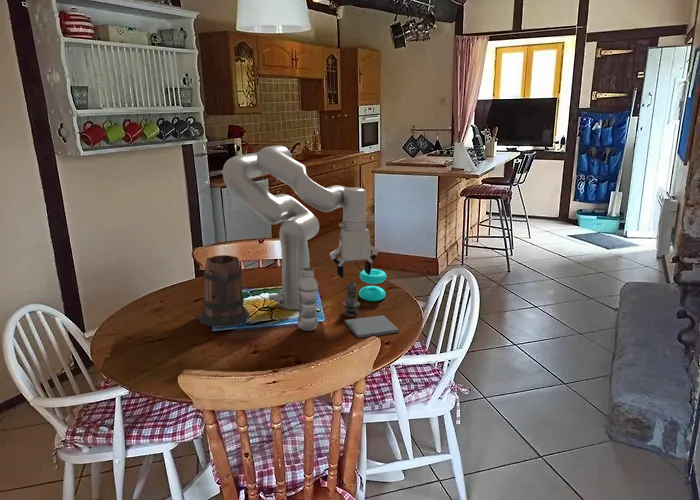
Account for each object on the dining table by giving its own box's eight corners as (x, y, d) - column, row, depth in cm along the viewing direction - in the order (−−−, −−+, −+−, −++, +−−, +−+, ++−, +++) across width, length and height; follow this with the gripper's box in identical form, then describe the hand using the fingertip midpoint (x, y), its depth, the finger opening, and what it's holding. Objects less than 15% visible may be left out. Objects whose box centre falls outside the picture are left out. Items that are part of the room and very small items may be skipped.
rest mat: (358, 338, 161) (358, 335, 160) (344, 322, 171) (344, 320, 171) (398, 332, 165) (399, 329, 165) (383, 317, 176) (383, 315, 176)
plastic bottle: (302, 334, 162) (302, 274, 156) (294, 326, 167) (294, 267, 162) (321, 331, 164) (322, 271, 159) (312, 323, 170) (313, 265, 165)
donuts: (361, 267, 197) (388, 269, 196) (360, 291, 200) (386, 293, 199) (357, 275, 188) (385, 277, 186) (356, 300, 191) (383, 303, 189)
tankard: (198, 308, 180) (195, 252, 174) (248, 305, 184) (247, 250, 178) (196, 337, 158) (193, 274, 152) (253, 332, 162) (251, 272, 157)
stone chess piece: (358, 317, 176) (359, 284, 173) (341, 315, 177) (341, 282, 174) (361, 311, 182) (362, 278, 178) (344, 309, 183) (345, 276, 179)
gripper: (333, 230, 164) (333, 281, 169) (383, 226, 170) (382, 275, 175) (326, 225, 171) (326, 274, 176) (374, 221, 177) (373, 269, 182)
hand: (354, 275), depth 175 cm, fingers open, 9 cm apart
